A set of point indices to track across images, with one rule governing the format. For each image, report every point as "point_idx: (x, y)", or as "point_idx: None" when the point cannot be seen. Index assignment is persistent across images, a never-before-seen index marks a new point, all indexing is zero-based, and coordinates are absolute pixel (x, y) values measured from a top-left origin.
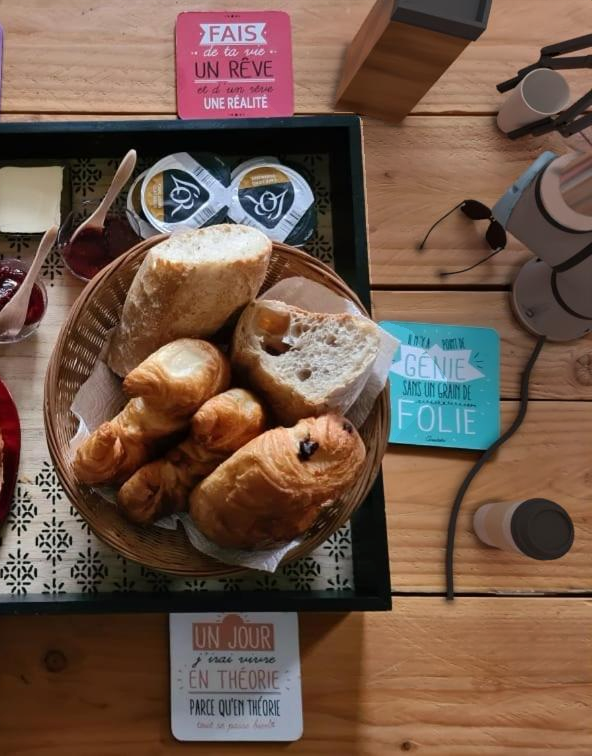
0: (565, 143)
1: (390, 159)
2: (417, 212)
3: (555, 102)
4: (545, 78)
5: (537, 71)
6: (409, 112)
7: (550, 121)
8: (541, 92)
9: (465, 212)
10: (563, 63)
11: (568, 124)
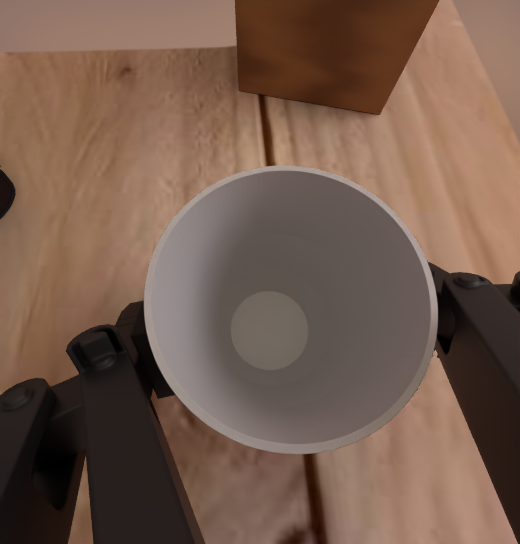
0: (206, 522)
1: (160, 77)
2: (33, 119)
3: (287, 412)
4: (390, 336)
5: (407, 255)
6: (236, 34)
7: (136, 344)
8: (342, 367)
9: (2, 203)
10: (506, 360)
11: (29, 424)
